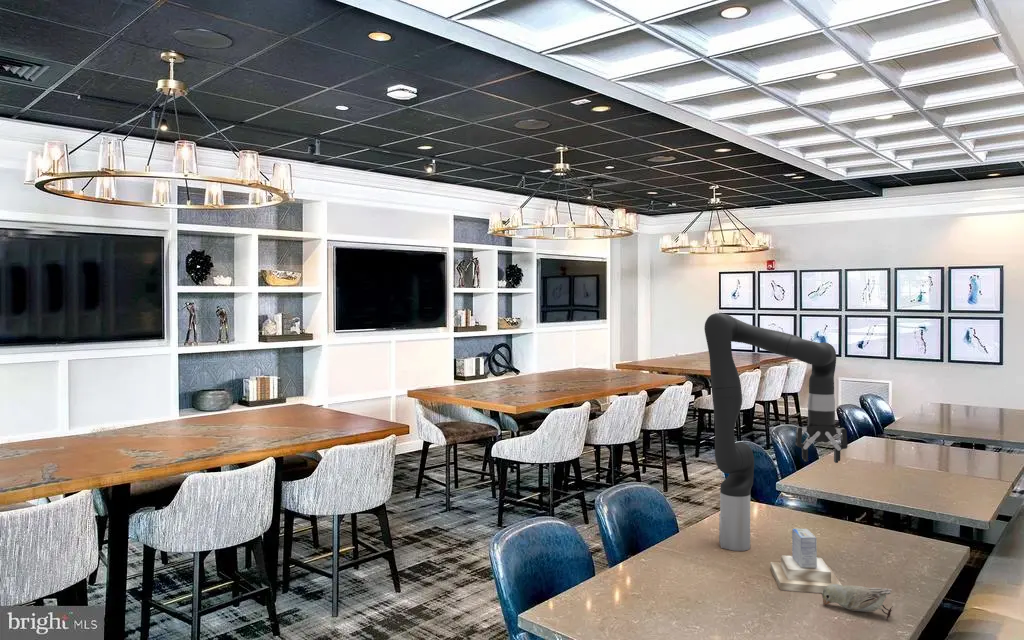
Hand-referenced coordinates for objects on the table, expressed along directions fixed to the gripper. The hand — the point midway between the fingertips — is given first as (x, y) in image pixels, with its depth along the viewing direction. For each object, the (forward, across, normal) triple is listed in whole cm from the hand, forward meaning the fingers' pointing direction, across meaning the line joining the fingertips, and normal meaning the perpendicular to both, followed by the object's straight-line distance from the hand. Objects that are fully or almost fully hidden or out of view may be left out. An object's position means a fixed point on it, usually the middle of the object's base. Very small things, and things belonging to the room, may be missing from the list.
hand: (821, 461), depth 211 cm
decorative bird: (+30, +1, -36) cm, 47 cm away
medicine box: (+25, -8, -18) cm, 32 cm away
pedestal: (+30, -8, -18) cm, 36 cm away
